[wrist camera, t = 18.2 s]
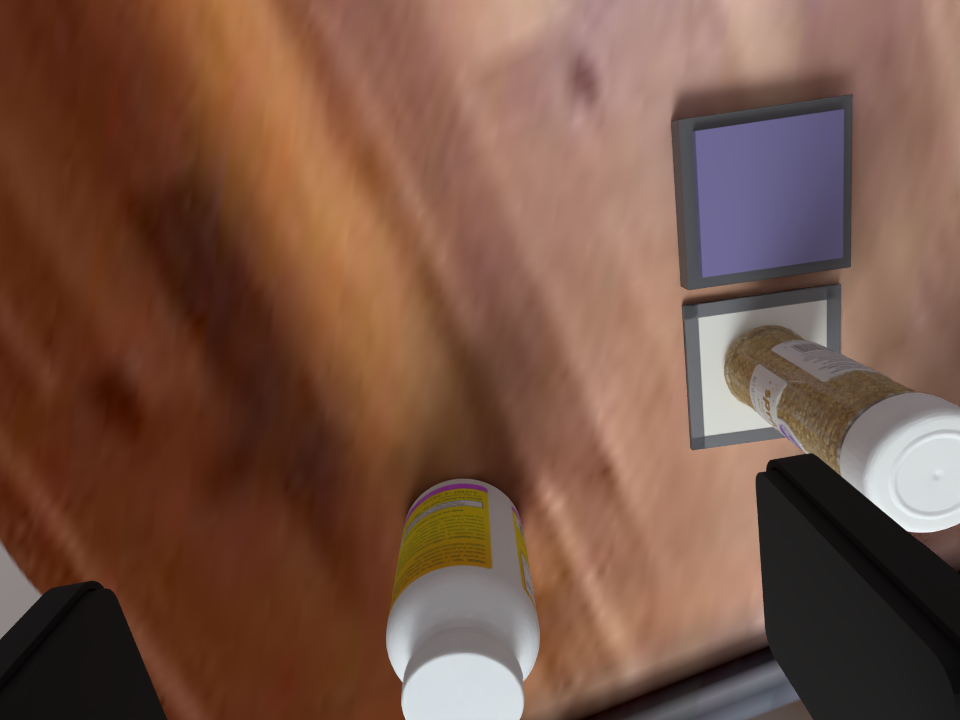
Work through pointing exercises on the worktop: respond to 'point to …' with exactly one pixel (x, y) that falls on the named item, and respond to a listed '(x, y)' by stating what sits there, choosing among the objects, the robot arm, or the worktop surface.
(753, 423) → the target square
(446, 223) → the worktop surface
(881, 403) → the sprinkles bottle
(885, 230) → the worktop surface
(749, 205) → the ink pad
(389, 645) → the supplement bottle
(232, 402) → the worktop surface
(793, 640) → the robot arm
